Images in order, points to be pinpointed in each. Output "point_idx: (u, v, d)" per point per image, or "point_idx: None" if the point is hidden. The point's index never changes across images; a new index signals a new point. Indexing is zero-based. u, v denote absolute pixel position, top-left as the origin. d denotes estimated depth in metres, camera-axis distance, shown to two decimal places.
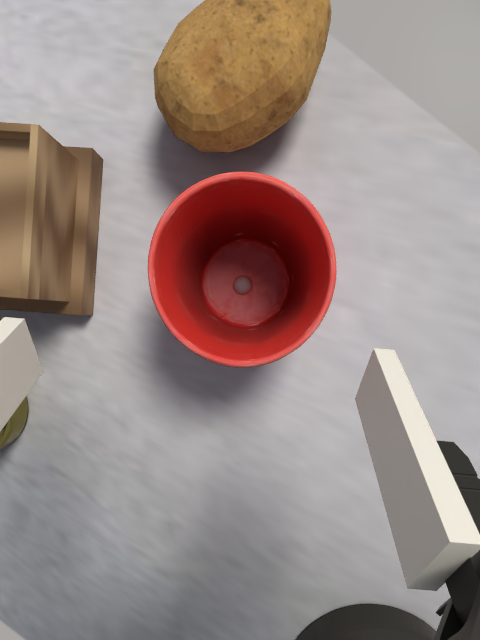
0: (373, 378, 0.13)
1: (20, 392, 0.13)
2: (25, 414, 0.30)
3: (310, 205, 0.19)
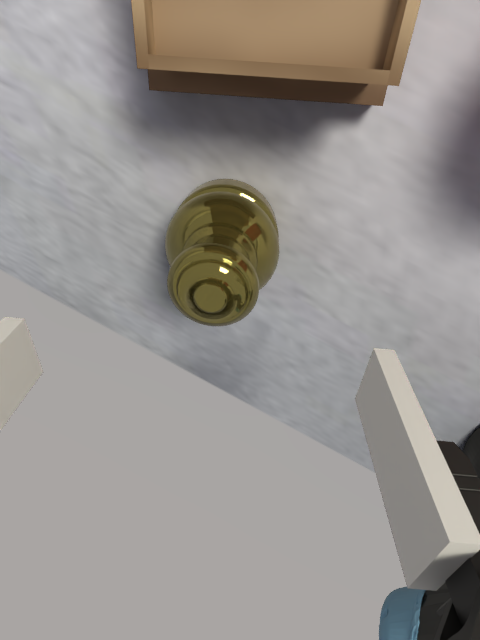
0: (373, 378, 0.13)
1: (20, 392, 0.13)
2: None
3: None
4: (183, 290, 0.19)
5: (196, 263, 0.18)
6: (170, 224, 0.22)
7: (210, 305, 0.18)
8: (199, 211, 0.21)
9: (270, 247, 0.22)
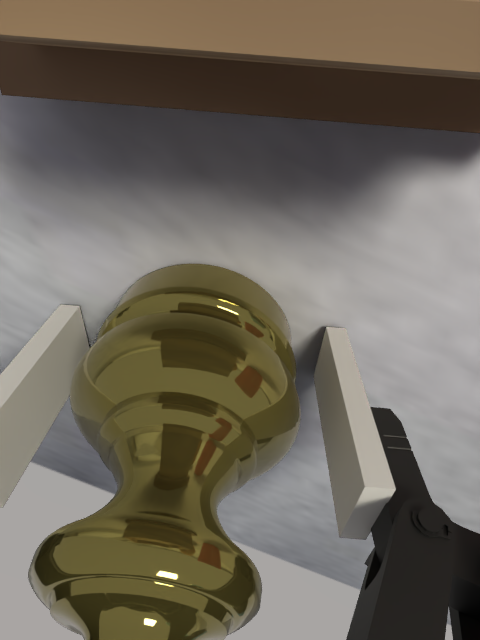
0: (325, 354, 0.14)
1: None
2: None
3: None
4: (65, 620, 0.07)
5: (88, 591, 0.06)
6: (74, 377, 0.10)
7: None
8: (128, 366, 0.09)
9: (284, 425, 0.10)
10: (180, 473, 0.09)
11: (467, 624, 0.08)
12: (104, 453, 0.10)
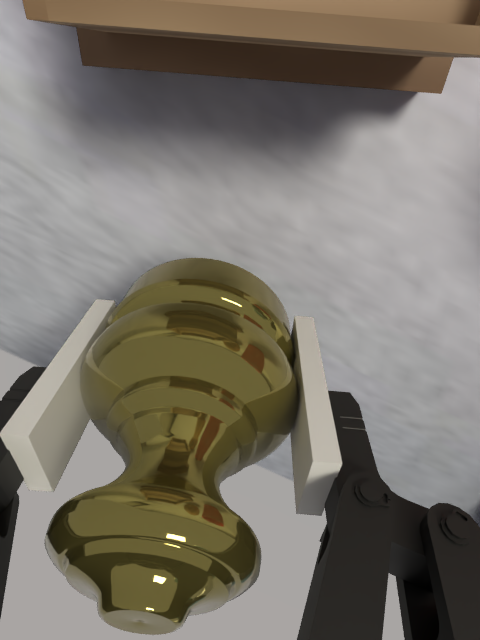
0: (293, 342, 0.14)
1: None
2: None
3: None
4: (79, 583, 0.08)
5: (102, 551, 0.07)
6: (84, 363, 0.11)
7: (142, 628, 0.07)
8: (136, 352, 0.10)
9: (283, 409, 0.11)
10: (185, 451, 0.09)
11: (412, 594, 0.09)
12: (112, 435, 0.11)
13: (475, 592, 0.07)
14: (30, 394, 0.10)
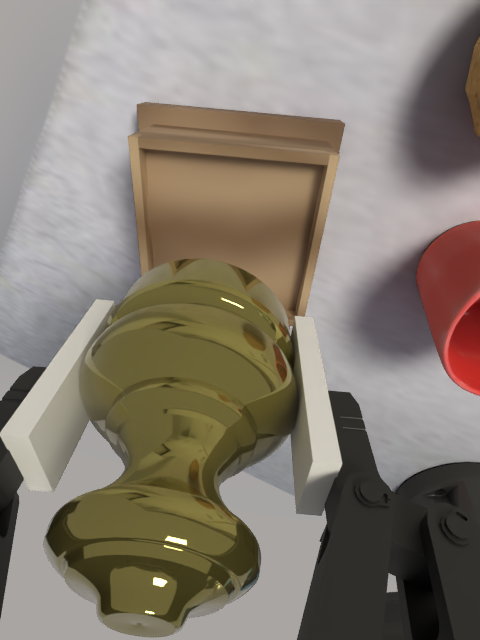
0: (293, 342, 0.14)
1: None
2: None
3: None
4: (78, 585, 0.08)
5: (101, 553, 0.07)
6: (83, 364, 0.11)
7: (141, 631, 0.07)
8: (135, 353, 0.10)
9: (283, 410, 0.11)
10: (184, 452, 0.09)
11: (412, 594, 0.09)
12: (112, 436, 0.11)
13: (475, 592, 0.07)
14: (30, 393, 0.10)
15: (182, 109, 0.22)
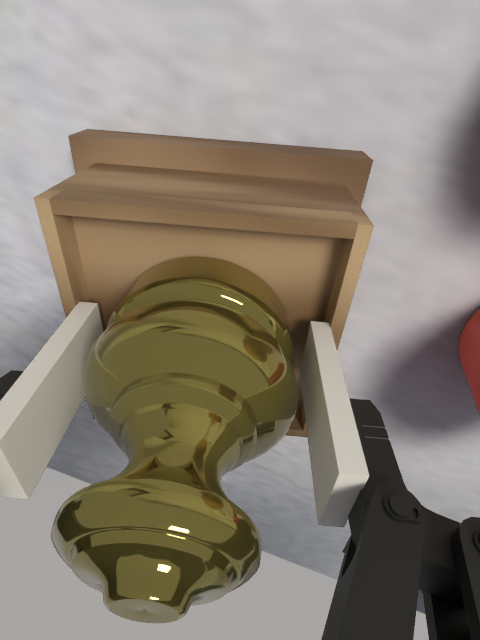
0: (309, 348, 0.14)
1: None
2: None
3: None
4: (85, 573, 0.08)
5: (107, 541, 0.07)
6: (87, 360, 0.11)
7: (146, 617, 0.08)
8: (138, 349, 0.10)
9: (282, 405, 0.11)
10: (187, 446, 0.09)
11: (439, 608, 0.08)
12: (115, 431, 0.11)
13: None
14: (3, 399, 0.10)
15: (135, 142, 0.15)
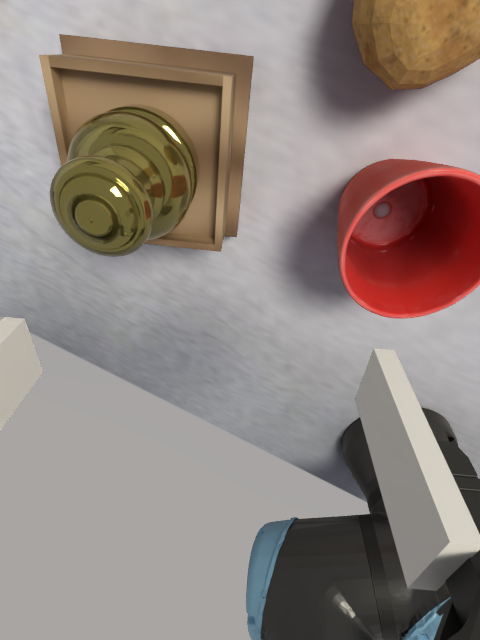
0: (373, 378, 0.13)
1: (20, 392, 0.13)
2: (198, 175, 0.24)
3: None
4: (66, 210, 0.17)
5: (75, 177, 0.16)
6: (69, 147, 0.20)
7: (94, 226, 0.17)
8: (96, 130, 0.19)
9: (178, 175, 0.20)
10: None
11: None
12: None
13: None
14: None
15: (102, 40, 0.24)
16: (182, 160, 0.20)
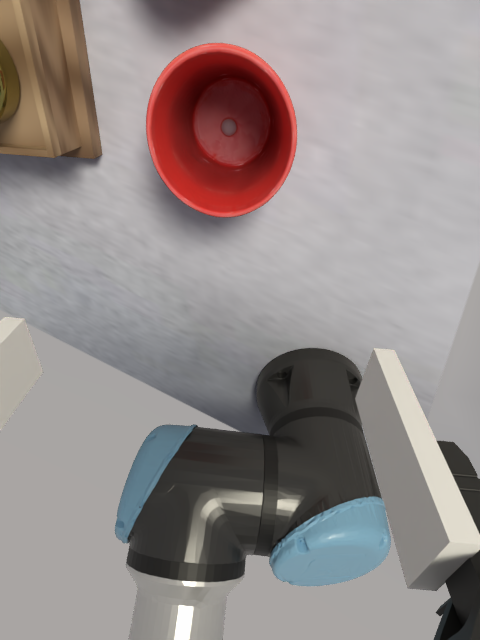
0: (373, 378, 0.13)
1: (20, 392, 0.13)
2: (15, 76, 0.26)
3: (278, 81, 0.23)
4: None
5: None
6: None
7: None
8: None
9: None
10: None
11: None
12: None
13: None
14: None
15: None
16: None
